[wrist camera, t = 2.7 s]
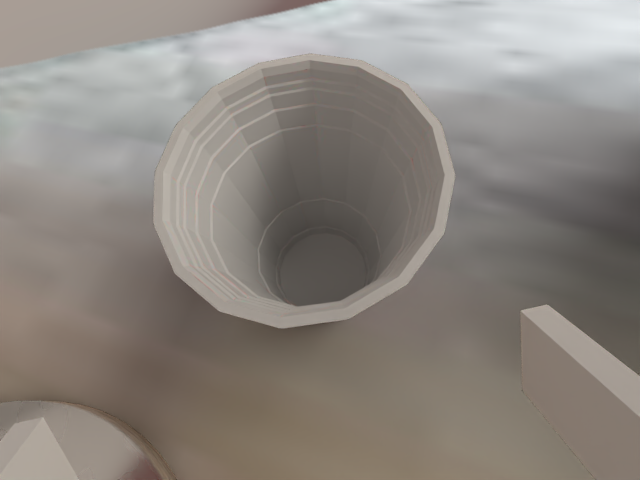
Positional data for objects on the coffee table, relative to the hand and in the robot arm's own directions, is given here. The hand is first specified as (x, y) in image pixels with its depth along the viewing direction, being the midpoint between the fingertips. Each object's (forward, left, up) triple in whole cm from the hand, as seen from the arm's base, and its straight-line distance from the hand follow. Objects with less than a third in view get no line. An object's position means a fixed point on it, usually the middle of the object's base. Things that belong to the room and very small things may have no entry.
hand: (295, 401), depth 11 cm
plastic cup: (-1, -7, -12) cm, 14 cm away
